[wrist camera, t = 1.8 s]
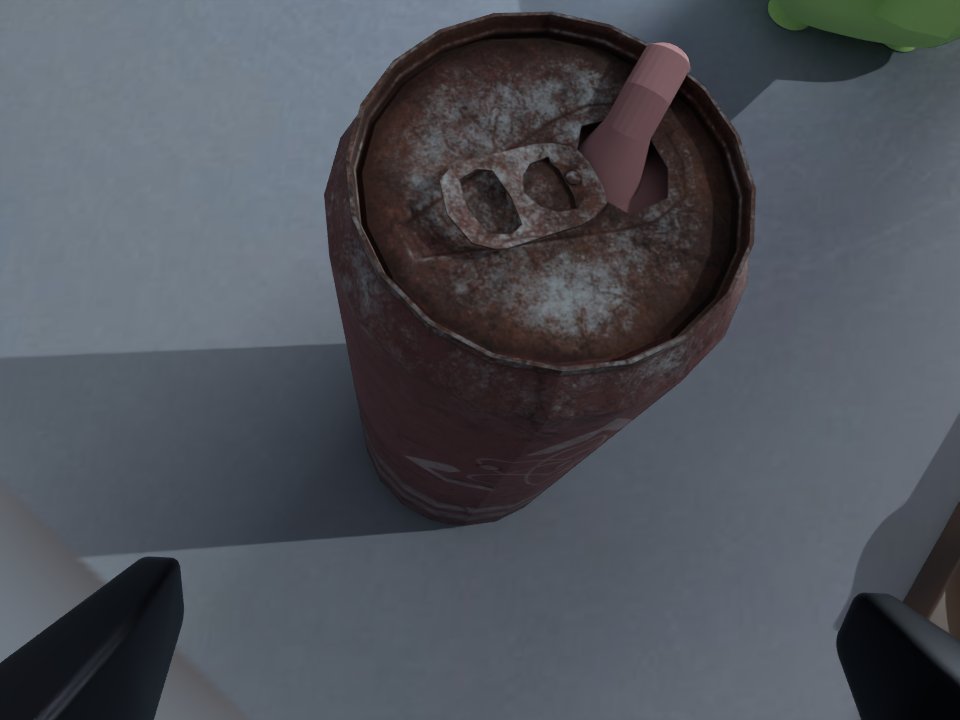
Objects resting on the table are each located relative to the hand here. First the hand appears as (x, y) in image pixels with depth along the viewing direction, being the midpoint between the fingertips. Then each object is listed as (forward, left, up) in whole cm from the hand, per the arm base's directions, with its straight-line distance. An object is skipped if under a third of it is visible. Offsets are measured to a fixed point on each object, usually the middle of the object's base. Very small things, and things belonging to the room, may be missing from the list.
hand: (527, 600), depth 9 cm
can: (+5, +1, -12) cm, 13 cm away
